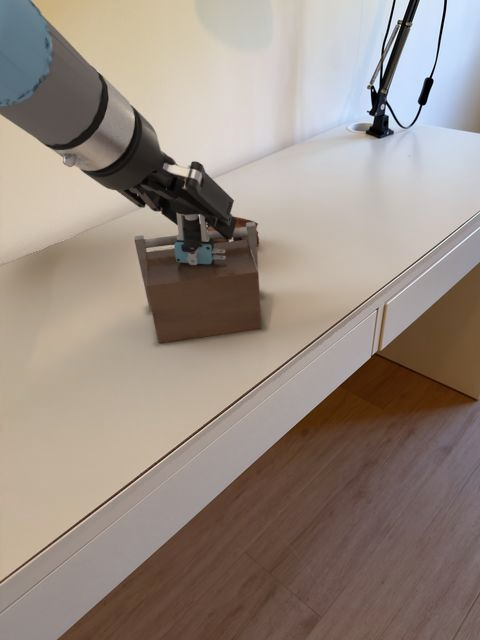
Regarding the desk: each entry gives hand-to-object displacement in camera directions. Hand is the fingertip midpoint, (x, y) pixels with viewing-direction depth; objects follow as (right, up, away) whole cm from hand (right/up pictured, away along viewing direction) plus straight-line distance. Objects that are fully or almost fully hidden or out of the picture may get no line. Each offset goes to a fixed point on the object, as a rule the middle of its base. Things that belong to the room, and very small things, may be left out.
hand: (211, 225), depth 69 cm
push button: (-1, -5, -1) cm, 5 cm away
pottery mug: (+2, -1, +18) cm, 19 cm away
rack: (-1, -12, +5) cm, 13 cm away
